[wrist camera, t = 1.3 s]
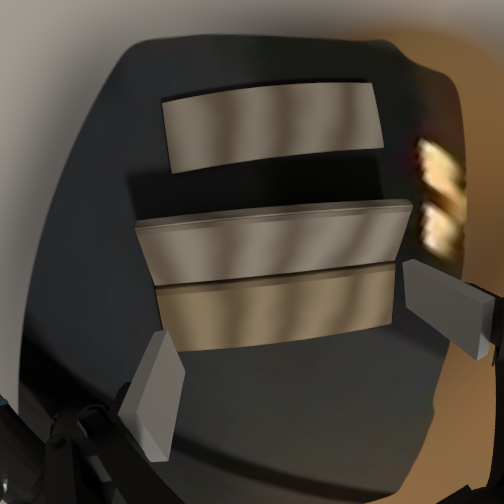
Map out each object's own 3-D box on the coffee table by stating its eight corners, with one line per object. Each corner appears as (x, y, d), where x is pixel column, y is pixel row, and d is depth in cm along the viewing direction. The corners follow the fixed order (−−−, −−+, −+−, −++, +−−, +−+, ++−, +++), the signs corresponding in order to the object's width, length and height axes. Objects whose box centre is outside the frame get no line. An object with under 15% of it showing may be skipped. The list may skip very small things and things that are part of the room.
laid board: (170, 347, 35) (168, 352, 34) (157, 286, 34) (155, 289, 32) (386, 319, 37) (391, 323, 36) (390, 261, 35) (395, 263, 34)
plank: (173, 174, 32) (171, 173, 31) (164, 105, 30) (162, 103, 29) (379, 148, 33) (383, 147, 32) (367, 86, 31) (371, 83, 30)
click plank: (156, 277, 33) (155, 285, 33) (137, 220, 28) (134, 228, 27) (390, 253, 35) (394, 260, 34) (407, 198, 30) (413, 205, 29)
